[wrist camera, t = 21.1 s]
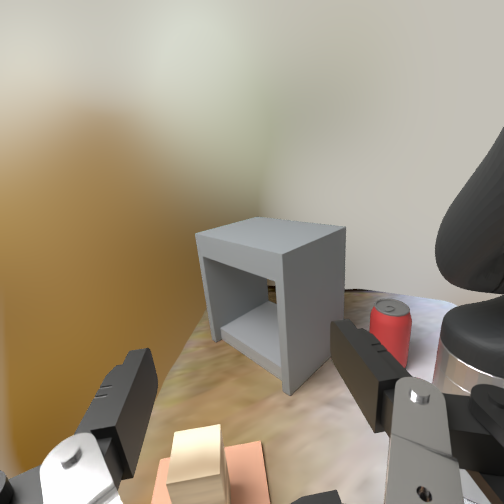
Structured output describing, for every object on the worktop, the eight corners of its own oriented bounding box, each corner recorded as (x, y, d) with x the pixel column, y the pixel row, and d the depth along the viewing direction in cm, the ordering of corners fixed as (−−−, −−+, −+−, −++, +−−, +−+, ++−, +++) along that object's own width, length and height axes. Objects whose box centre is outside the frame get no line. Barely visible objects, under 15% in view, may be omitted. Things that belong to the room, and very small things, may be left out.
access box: (265, 308, 72) (257, 216, 64) (343, 344, 55) (345, 226, 47) (212, 339, 61) (194, 233, 53) (289, 396, 44) (281, 254, 36)
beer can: (361, 361, 50) (364, 306, 47) (377, 345, 54) (381, 293, 50) (396, 380, 45) (403, 321, 42) (412, 361, 49) (419, 305, 46)
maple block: (189, 491, 32) (174, 432, 29) (230, 483, 32) (220, 424, 29) (184, 547, 27) (165, 483, 24) (232, 537, 28) (220, 473, 24)
